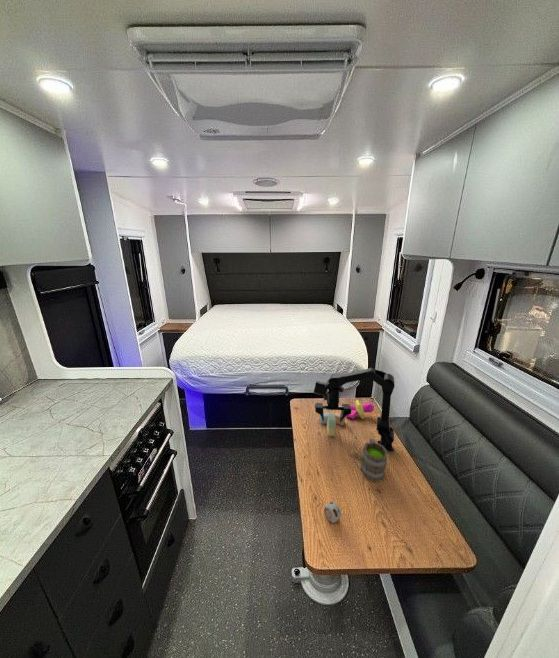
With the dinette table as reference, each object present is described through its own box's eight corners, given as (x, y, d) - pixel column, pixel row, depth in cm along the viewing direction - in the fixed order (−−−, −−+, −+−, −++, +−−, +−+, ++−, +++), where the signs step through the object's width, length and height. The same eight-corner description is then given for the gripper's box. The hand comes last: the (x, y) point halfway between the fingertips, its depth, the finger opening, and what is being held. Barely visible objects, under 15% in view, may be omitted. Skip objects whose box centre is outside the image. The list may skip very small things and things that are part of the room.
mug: (387, 483, 112) (391, 462, 108) (361, 479, 114) (364, 457, 110) (381, 456, 126) (384, 436, 123) (358, 452, 128) (360, 433, 125)
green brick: (335, 428, 138) (336, 420, 137) (328, 428, 138) (329, 420, 137) (333, 421, 144) (334, 413, 142) (327, 420, 144) (328, 413, 143)
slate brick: (329, 419, 153) (329, 412, 152) (330, 423, 150) (331, 415, 149) (319, 420, 153) (319, 412, 151) (321, 423, 149) (321, 416, 148)
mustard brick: (334, 436, 140) (335, 428, 138) (328, 435, 140) (328, 428, 138) (333, 428, 145) (333, 421, 144) (326, 428, 146) (327, 420, 144)
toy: (343, 409, 164) (341, 401, 157) (371, 403, 162) (371, 394, 155) (347, 424, 156) (346, 416, 150) (377, 418, 154) (377, 409, 148)
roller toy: (330, 507, 101) (331, 496, 99) (342, 520, 96) (344, 509, 95) (322, 513, 99) (323, 502, 97) (334, 527, 94) (336, 516, 92)
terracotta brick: (344, 422, 151) (345, 415, 149) (342, 425, 148) (343, 418, 147) (335, 418, 154) (335, 411, 152) (332, 422, 151) (333, 414, 150)
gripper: (348, 389, 143) (345, 413, 148) (314, 388, 144) (313, 411, 149) (352, 400, 132) (349, 425, 137) (316, 399, 133) (314, 424, 138)
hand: (331, 421), depth 141 cm, fingers open, 9 cm apart
